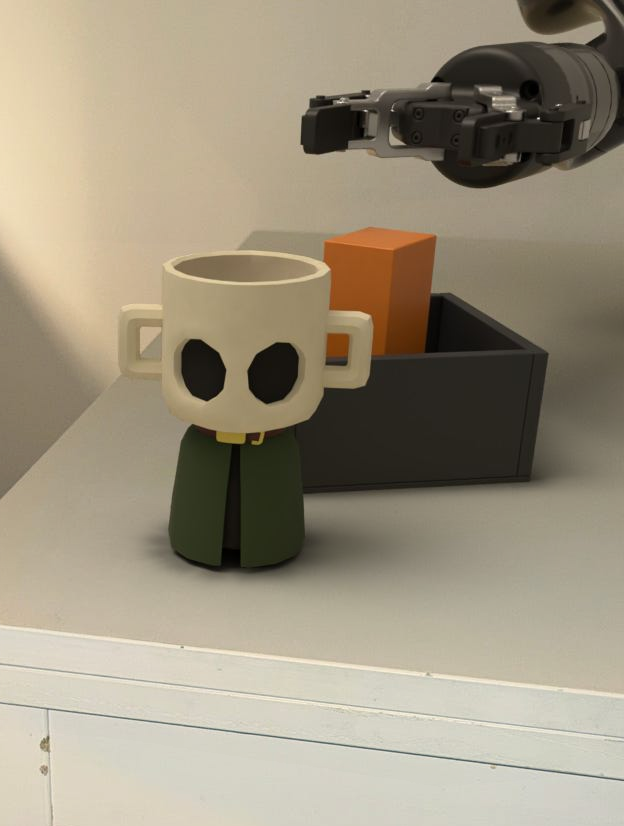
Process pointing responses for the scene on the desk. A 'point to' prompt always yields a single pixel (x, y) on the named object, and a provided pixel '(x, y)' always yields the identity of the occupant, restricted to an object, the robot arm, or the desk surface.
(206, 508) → the character mug
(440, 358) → the bin
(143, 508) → the desk surface
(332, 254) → the block
